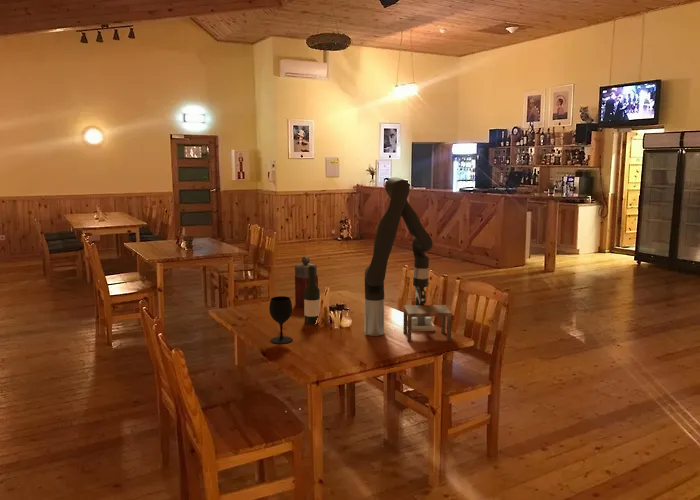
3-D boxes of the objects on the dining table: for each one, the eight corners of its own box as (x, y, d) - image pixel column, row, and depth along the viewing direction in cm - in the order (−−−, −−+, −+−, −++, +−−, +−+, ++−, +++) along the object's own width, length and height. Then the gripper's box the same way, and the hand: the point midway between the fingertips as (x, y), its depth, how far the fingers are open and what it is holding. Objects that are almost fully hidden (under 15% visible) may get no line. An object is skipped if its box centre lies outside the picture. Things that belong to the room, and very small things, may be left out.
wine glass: (274, 345, 262) (273, 302, 259) (267, 338, 271) (265, 297, 268) (296, 341, 267) (295, 299, 263) (287, 335, 276) (287, 294, 273)
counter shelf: (407, 342, 266) (408, 313, 264) (403, 332, 280) (403, 305, 278) (450, 341, 267) (451, 312, 265) (444, 331, 281) (445, 304, 279)
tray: (409, 331, 282) (410, 317, 281) (406, 325, 292) (407, 311, 291) (434, 330, 283) (434, 316, 282) (430, 324, 293) (430, 311, 291)
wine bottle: (301, 323, 295) (300, 265, 290) (308, 319, 303) (307, 262, 298) (316, 325, 292) (315, 266, 287) (323, 320, 300) (322, 263, 295)
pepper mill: (320, 303, 333) (319, 255, 328) (306, 307, 325) (305, 258, 320) (308, 301, 339) (308, 254, 334) (295, 305, 330) (294, 256, 326)
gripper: (410, 273, 290) (409, 304, 293) (416, 279, 276) (414, 312, 279) (425, 273, 291) (424, 304, 294) (431, 279, 277) (430, 312, 280)
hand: (419, 308), depth 286 cm, fingers open, 8 cm apart
